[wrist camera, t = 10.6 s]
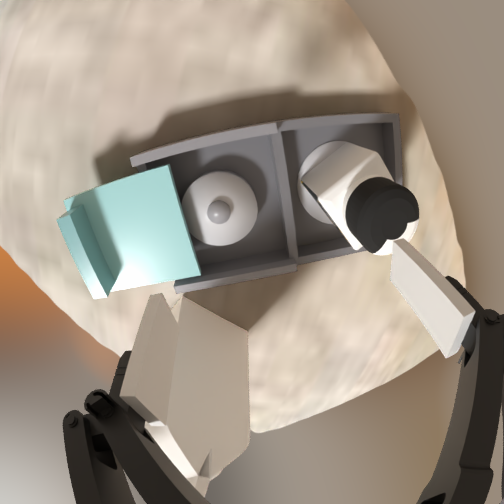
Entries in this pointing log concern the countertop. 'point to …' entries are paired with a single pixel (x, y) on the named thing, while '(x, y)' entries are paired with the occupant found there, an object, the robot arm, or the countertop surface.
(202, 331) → the milk
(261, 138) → the housing
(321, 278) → the countertop surface
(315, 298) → the countertop surface
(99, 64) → the countertop surface
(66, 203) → the lid
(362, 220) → the medicine bottle
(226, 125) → the countertop surface
